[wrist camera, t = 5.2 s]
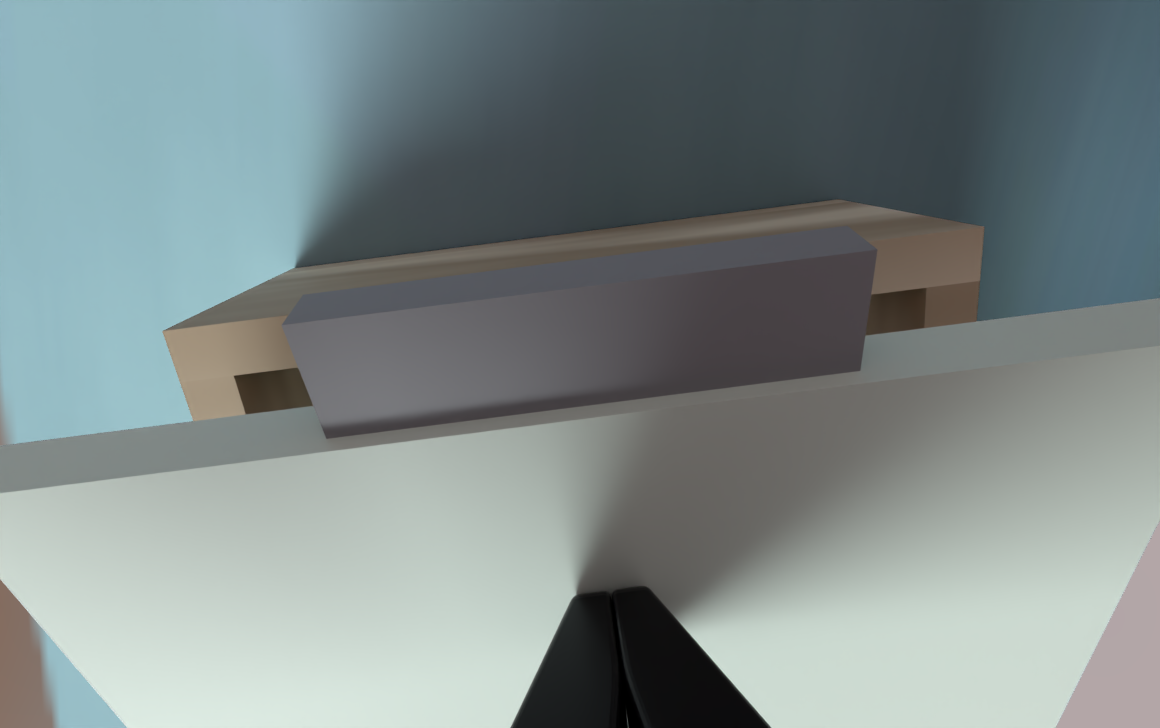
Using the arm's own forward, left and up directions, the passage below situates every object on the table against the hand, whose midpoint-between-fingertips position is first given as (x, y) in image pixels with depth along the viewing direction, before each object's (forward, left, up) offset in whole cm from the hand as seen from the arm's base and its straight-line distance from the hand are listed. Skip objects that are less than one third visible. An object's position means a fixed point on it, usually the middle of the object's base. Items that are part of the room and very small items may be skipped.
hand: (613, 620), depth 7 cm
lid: (-4, 0, -2) cm, 4 cm away
